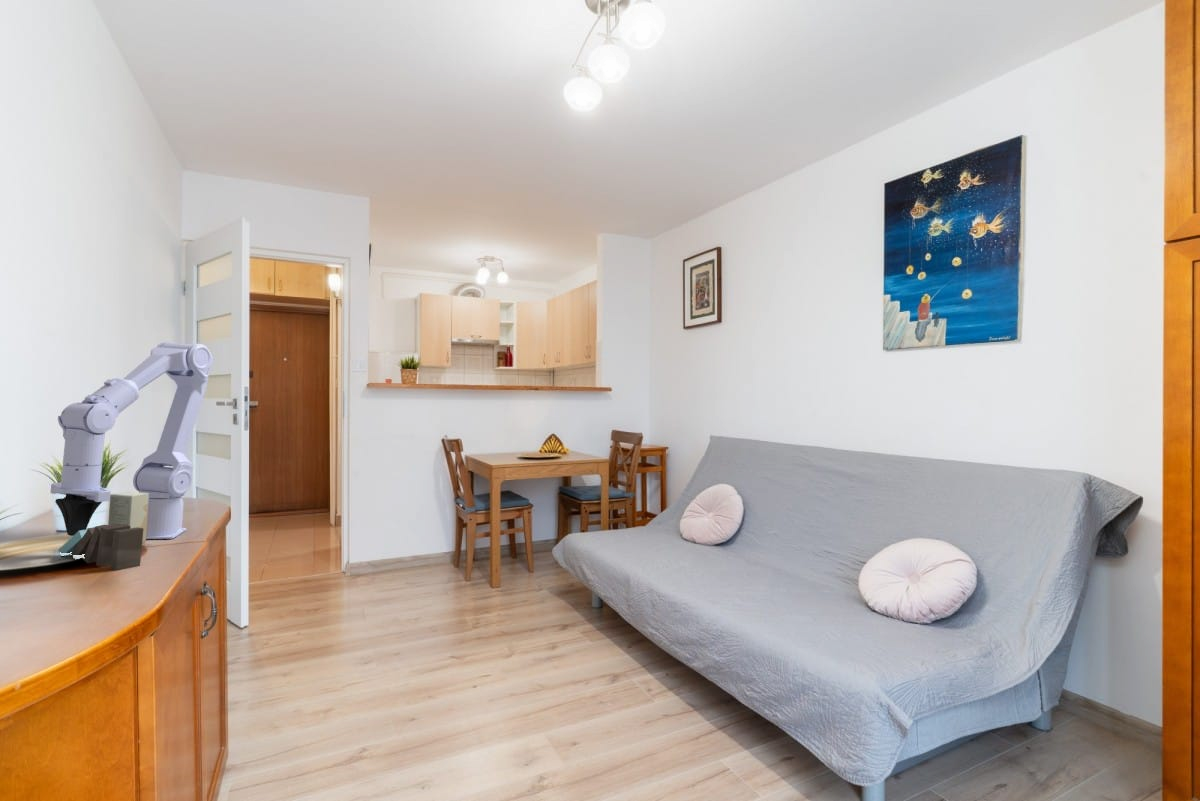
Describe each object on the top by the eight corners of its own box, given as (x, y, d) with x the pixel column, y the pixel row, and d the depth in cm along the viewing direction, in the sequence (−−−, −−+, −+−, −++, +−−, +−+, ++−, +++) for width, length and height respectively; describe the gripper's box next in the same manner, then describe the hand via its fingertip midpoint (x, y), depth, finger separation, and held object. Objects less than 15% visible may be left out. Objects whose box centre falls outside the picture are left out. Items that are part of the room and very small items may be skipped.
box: (146, 545, 121) (151, 493, 121) (127, 550, 116) (132, 495, 117) (123, 543, 121) (128, 490, 122) (104, 547, 117) (109, 493, 117)
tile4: (96, 565, 105) (100, 527, 106) (120, 560, 109) (125, 524, 109) (101, 567, 105) (106, 529, 105) (125, 562, 109) (130, 525, 109)
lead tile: (58, 549, 109) (79, 530, 108) (83, 545, 113) (103, 527, 111) (61, 557, 109) (81, 538, 107) (85, 552, 113) (106, 534, 111)
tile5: (110, 569, 104) (113, 530, 104) (134, 564, 108) (137, 527, 108) (115, 570, 104) (119, 532, 104) (140, 565, 107) (143, 528, 108)
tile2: (70, 553, 108) (88, 528, 107) (95, 549, 112) (113, 525, 110) (74, 560, 108) (92, 534, 106) (99, 555, 111) (116, 531, 110)
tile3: (83, 559, 107) (95, 526, 106) (107, 554, 111) (119, 523, 110) (87, 563, 106) (100, 530, 106) (112, 559, 110) (124, 527, 109)
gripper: (34, 461, 110) (26, 532, 110) (82, 469, 105) (74, 543, 105) (77, 460, 117) (71, 526, 116) (124, 467, 112) (118, 537, 111)
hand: (75, 534), depth 111 cm, fingers closed
